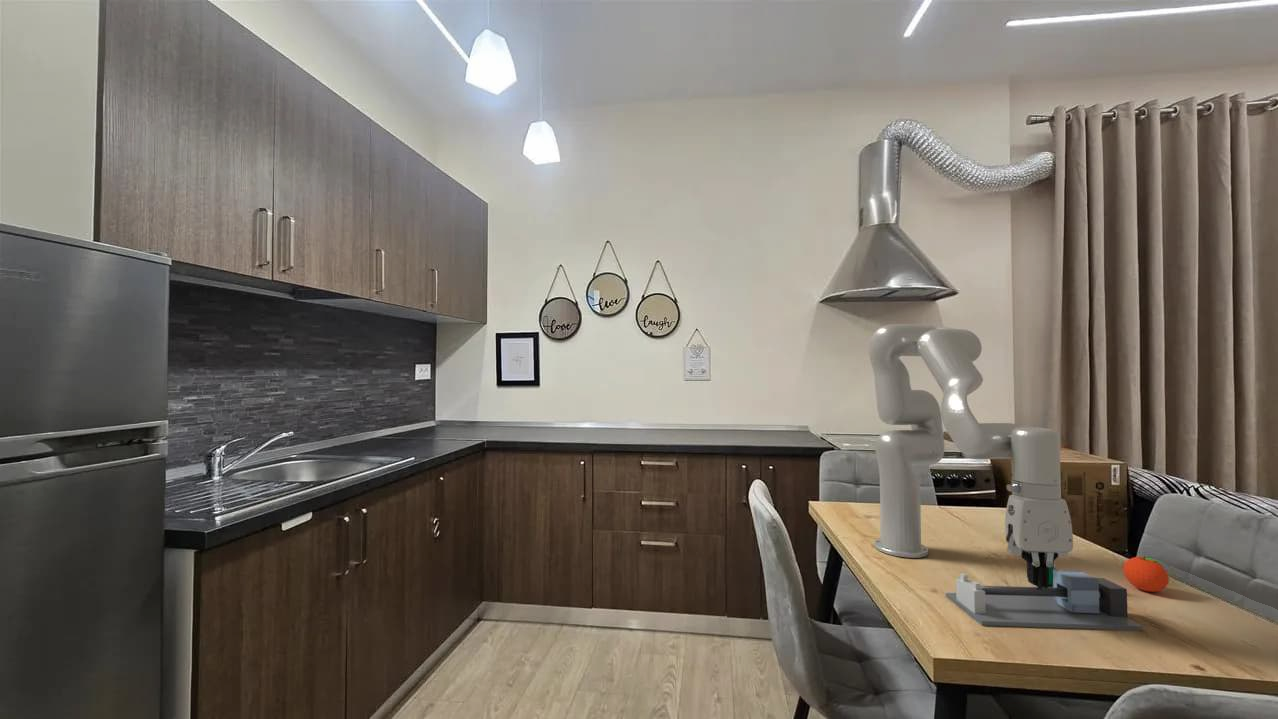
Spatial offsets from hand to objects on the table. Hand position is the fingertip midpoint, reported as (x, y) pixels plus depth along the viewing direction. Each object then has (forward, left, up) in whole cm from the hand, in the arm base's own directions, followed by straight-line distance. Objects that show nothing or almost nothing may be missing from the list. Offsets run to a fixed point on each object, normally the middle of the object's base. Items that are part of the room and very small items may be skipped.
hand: (1038, 584), depth 96 cm
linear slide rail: (0, 0, -5) cm, 5 cm away
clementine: (-12, +31, -6) cm, 34 cm away
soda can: (-15, +11, -6) cm, 19 cm away
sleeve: (0, +7, -4) cm, 8 cm away
